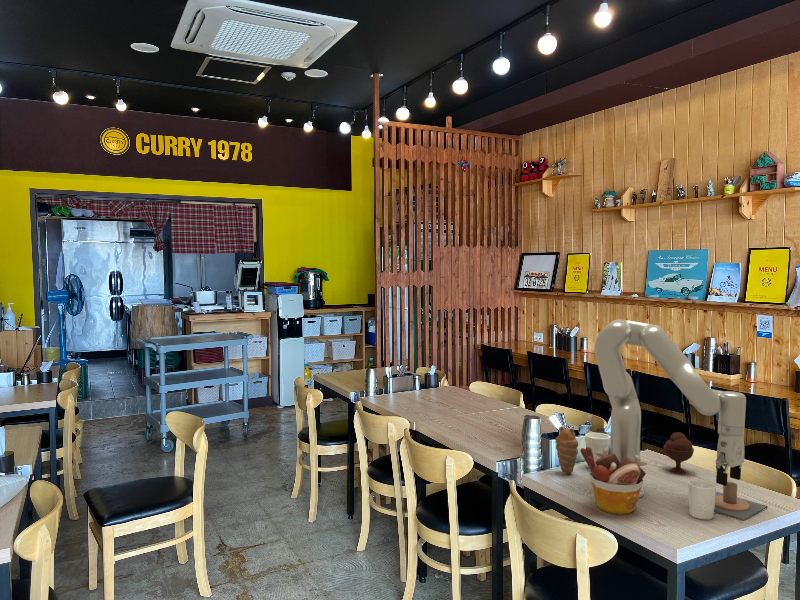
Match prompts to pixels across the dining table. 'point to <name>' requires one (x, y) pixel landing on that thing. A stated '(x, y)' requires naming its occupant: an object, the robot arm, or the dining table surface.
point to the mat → (741, 515)
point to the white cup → (701, 499)
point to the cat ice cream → (567, 449)
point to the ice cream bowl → (678, 451)
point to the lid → (731, 499)
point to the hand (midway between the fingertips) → (728, 481)
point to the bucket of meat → (615, 481)
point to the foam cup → (597, 443)
